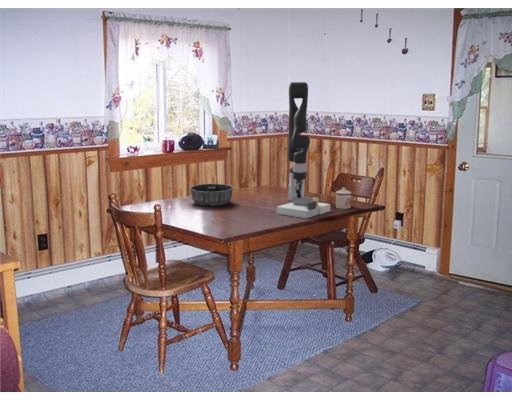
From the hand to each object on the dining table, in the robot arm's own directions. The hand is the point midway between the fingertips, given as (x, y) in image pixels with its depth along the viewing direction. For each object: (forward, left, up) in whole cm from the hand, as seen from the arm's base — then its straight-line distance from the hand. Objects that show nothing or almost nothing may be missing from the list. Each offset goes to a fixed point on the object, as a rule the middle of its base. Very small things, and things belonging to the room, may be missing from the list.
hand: (298, 200), depth 354 cm
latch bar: (+6, -2, -1) cm, 6 cm away
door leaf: (+5, -9, -6) cm, 12 cm away
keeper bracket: (+14, -9, -2) cm, 17 cm away
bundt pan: (-52, -16, -6) cm, 54 cm away
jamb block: (+5, +4, -6) cm, 9 cm away
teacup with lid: (+16, +24, -6) cm, 30 cm away
